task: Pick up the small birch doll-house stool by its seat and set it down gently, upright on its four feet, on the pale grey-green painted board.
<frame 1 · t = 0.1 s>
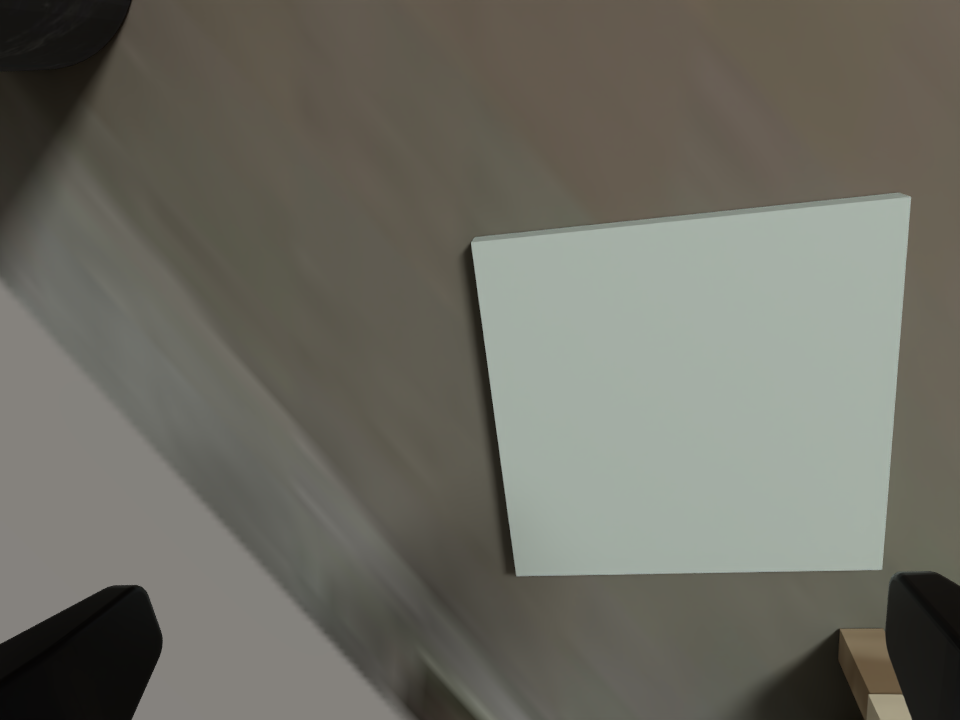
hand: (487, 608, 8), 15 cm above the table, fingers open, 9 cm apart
board: (682, 402, 23), on the table
stool: (922, 693, 25), on the table
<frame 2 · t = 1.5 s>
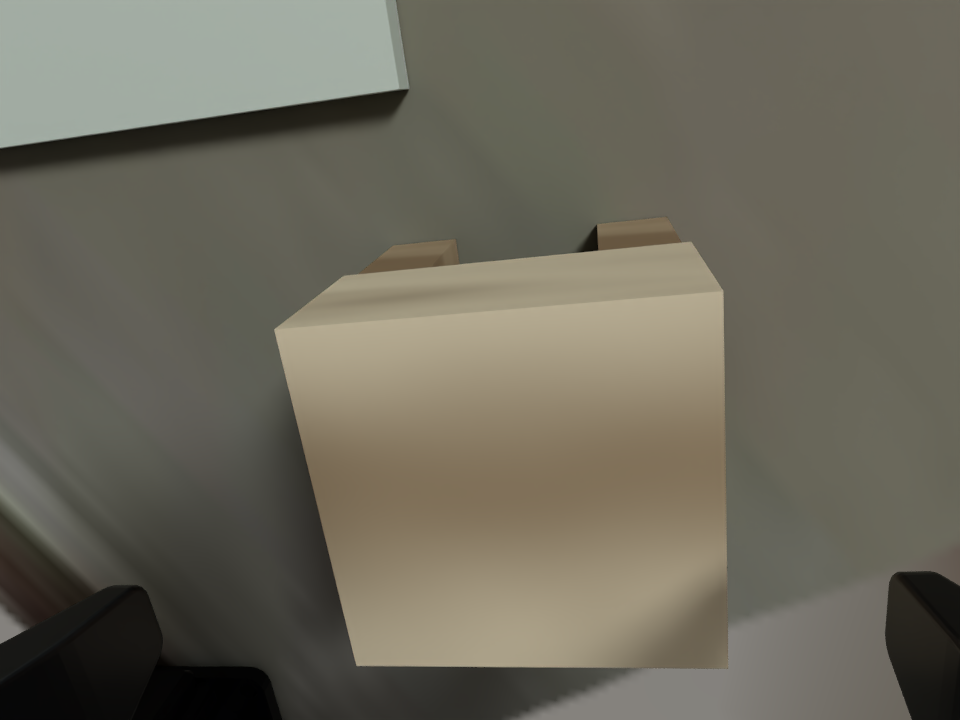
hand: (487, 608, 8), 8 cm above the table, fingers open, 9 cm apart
stool: (539, 359, 16), on the table
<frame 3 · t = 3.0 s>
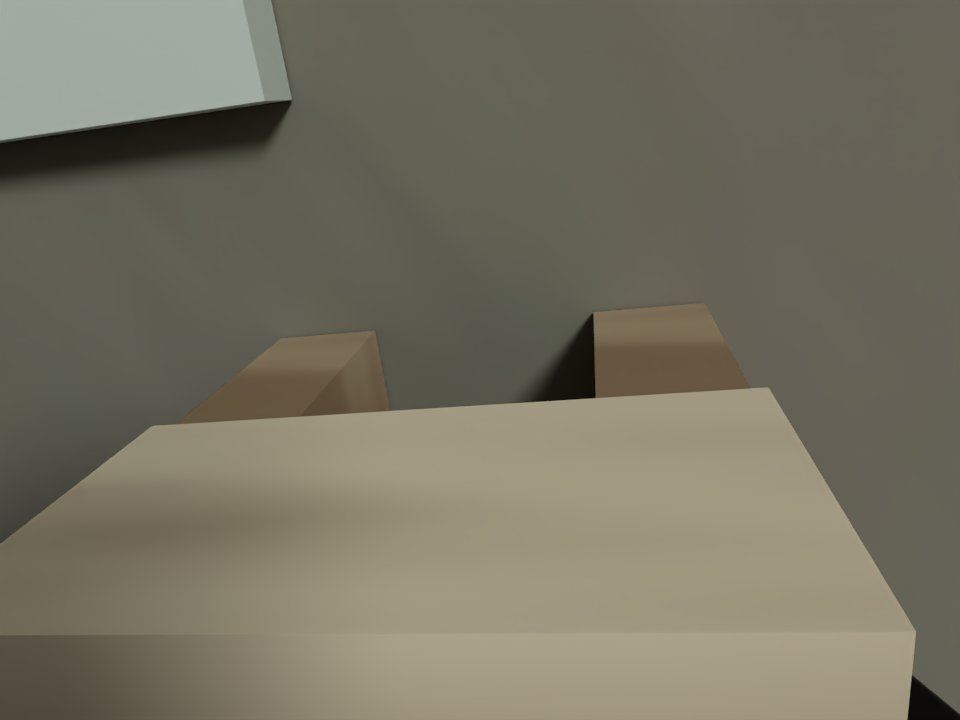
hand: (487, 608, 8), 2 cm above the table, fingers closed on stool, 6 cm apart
stool: (506, 506, 10), on the table, touching gripper
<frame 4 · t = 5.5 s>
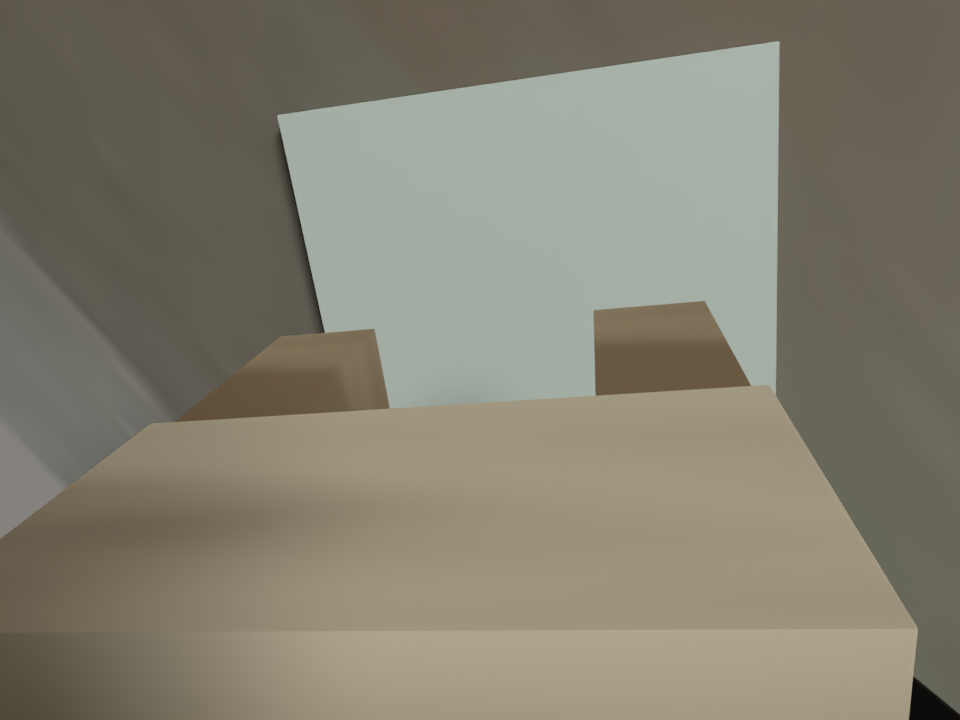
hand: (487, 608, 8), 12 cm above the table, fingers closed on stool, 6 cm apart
board: (540, 312, 19), on the table
stool: (506, 505, 10), point 10 cm above the table, touching gripper
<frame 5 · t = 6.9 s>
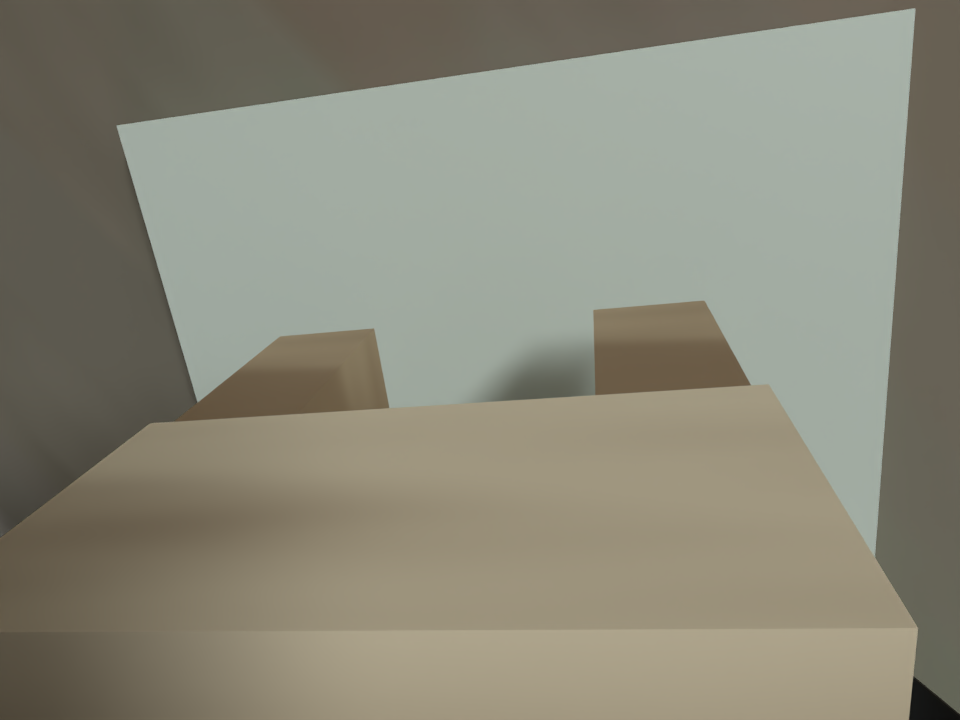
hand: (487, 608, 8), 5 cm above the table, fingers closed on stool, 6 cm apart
board: (523, 414, 13), on the table
stool: (506, 505, 10), point 3 cm above the table, touching gripper
when the fingers open (4 cm above the table, at t = 8.2 s): stool stays where it is, resting on board.
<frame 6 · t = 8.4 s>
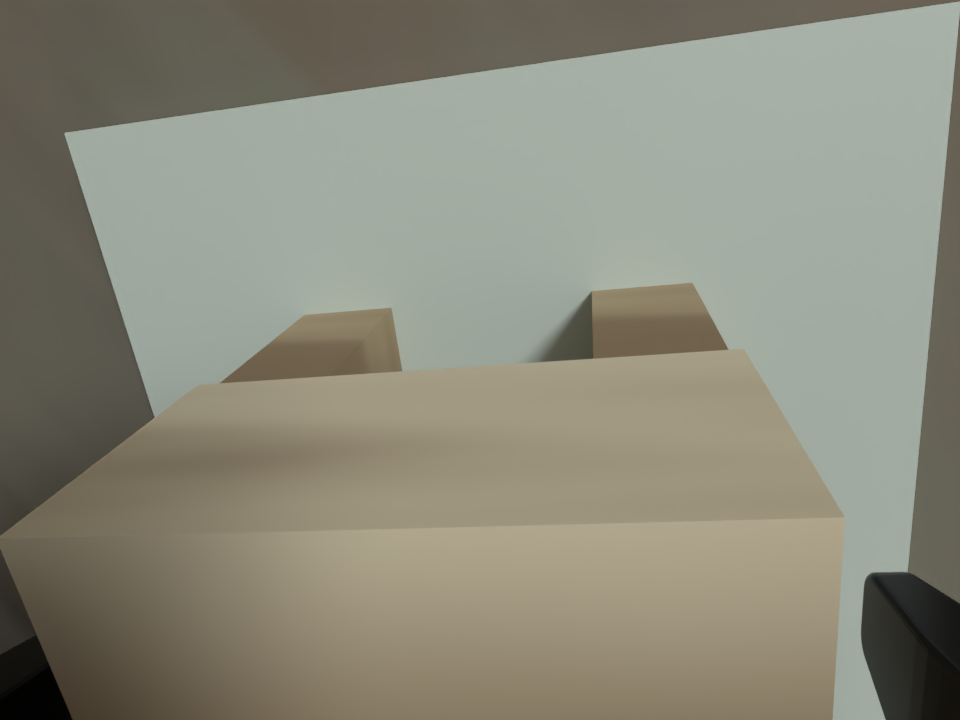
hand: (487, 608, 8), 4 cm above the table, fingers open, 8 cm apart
board: (517, 448, 12), on the table
stool: (510, 472, 11), point 1 cm above the table, touching board
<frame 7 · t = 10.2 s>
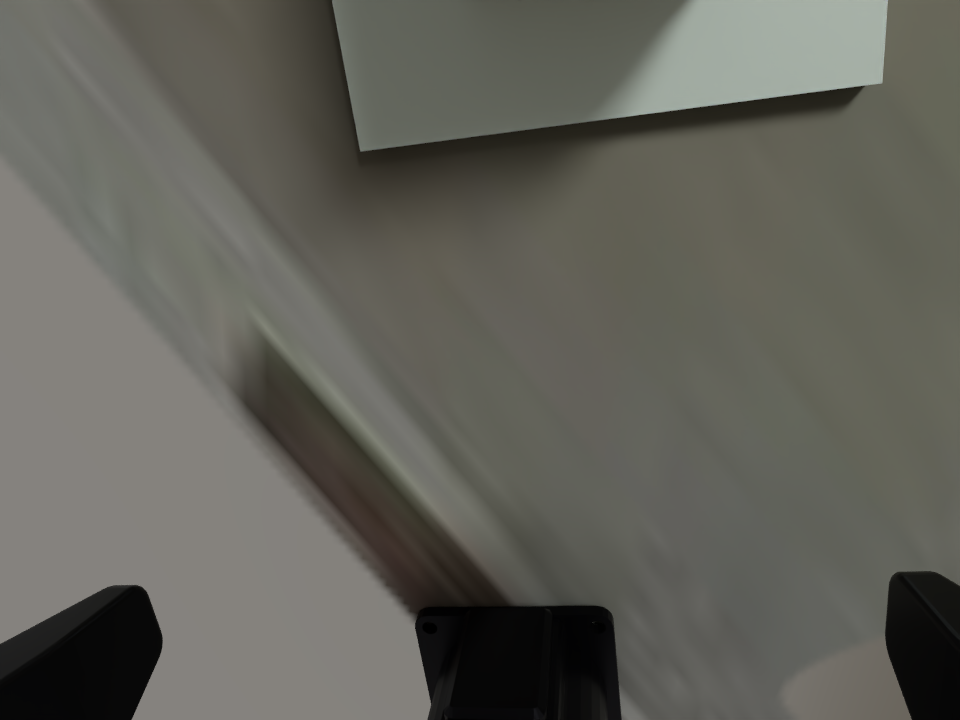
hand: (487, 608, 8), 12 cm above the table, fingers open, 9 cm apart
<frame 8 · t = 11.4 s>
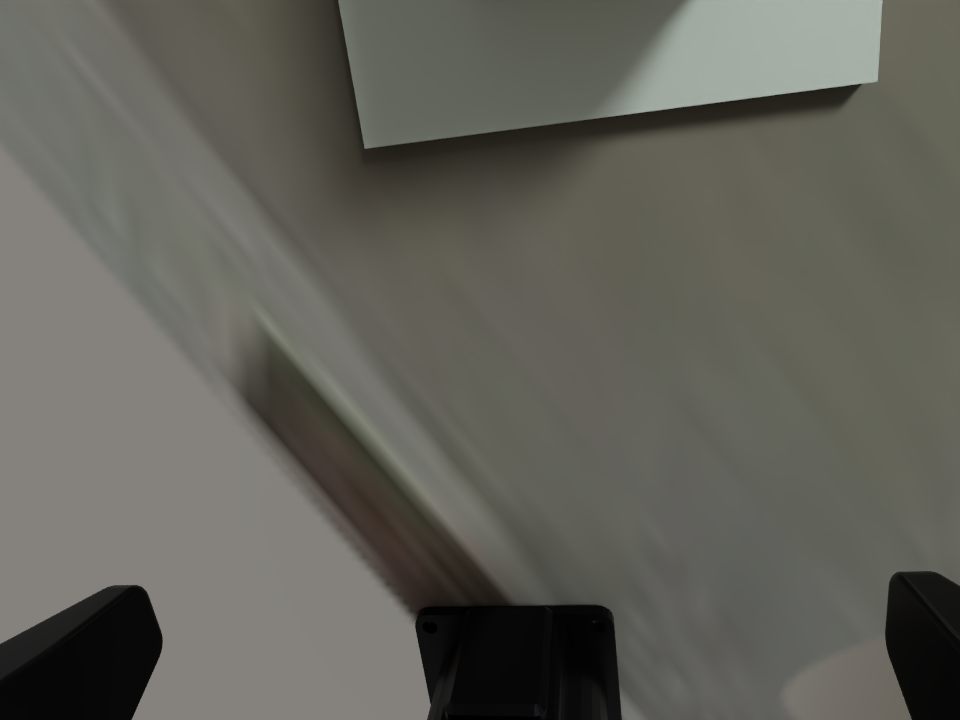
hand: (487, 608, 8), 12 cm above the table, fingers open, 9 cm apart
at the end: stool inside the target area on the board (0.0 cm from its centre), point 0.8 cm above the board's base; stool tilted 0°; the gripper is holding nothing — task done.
